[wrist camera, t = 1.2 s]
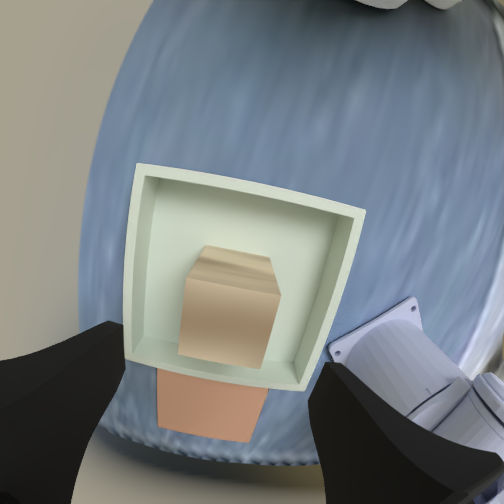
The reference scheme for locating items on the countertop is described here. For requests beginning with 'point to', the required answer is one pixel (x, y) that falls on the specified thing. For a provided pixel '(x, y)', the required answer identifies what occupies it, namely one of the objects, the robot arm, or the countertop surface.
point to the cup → (384, 3)
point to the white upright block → (443, 3)
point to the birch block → (229, 307)
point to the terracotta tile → (208, 406)
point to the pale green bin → (239, 239)
